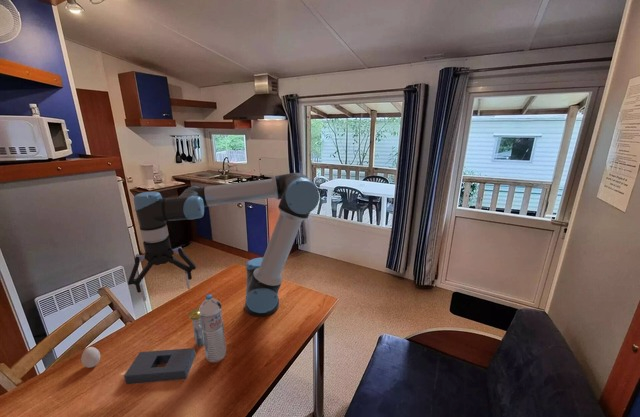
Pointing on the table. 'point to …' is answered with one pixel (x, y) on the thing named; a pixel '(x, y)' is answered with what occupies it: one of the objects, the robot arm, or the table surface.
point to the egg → (90, 357)
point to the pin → (197, 327)
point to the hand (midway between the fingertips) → (167, 293)
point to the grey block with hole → (149, 371)
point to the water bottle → (212, 329)
